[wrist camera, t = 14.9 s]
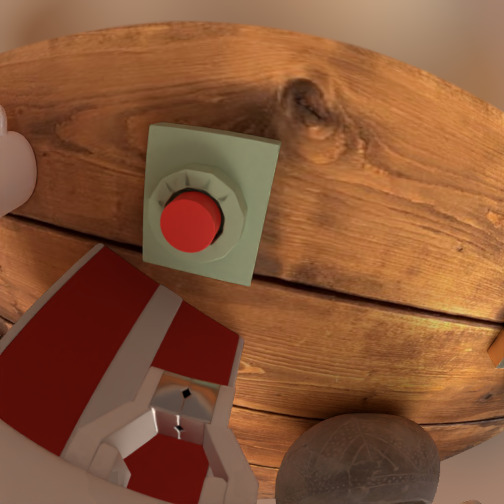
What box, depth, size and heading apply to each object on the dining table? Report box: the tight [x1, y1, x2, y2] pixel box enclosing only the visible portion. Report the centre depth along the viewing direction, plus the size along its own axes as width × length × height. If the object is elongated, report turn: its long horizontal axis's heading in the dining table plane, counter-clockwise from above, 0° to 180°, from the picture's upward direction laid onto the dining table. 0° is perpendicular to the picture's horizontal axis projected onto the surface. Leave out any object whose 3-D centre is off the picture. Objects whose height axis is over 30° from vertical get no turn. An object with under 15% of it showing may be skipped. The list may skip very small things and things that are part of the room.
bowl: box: [275, 413, 440, 504], centre depth 29 cm, size 21×21×15 cm
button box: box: [143, 122, 281, 286], centre depth 21 cm, size 11×9×4 cm
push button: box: [160, 191, 221, 253], centre depth 19 cm, size 4×4×2 cm
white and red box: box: [0, 243, 244, 504], centre depth 20 cm, size 17×18×27 cm
